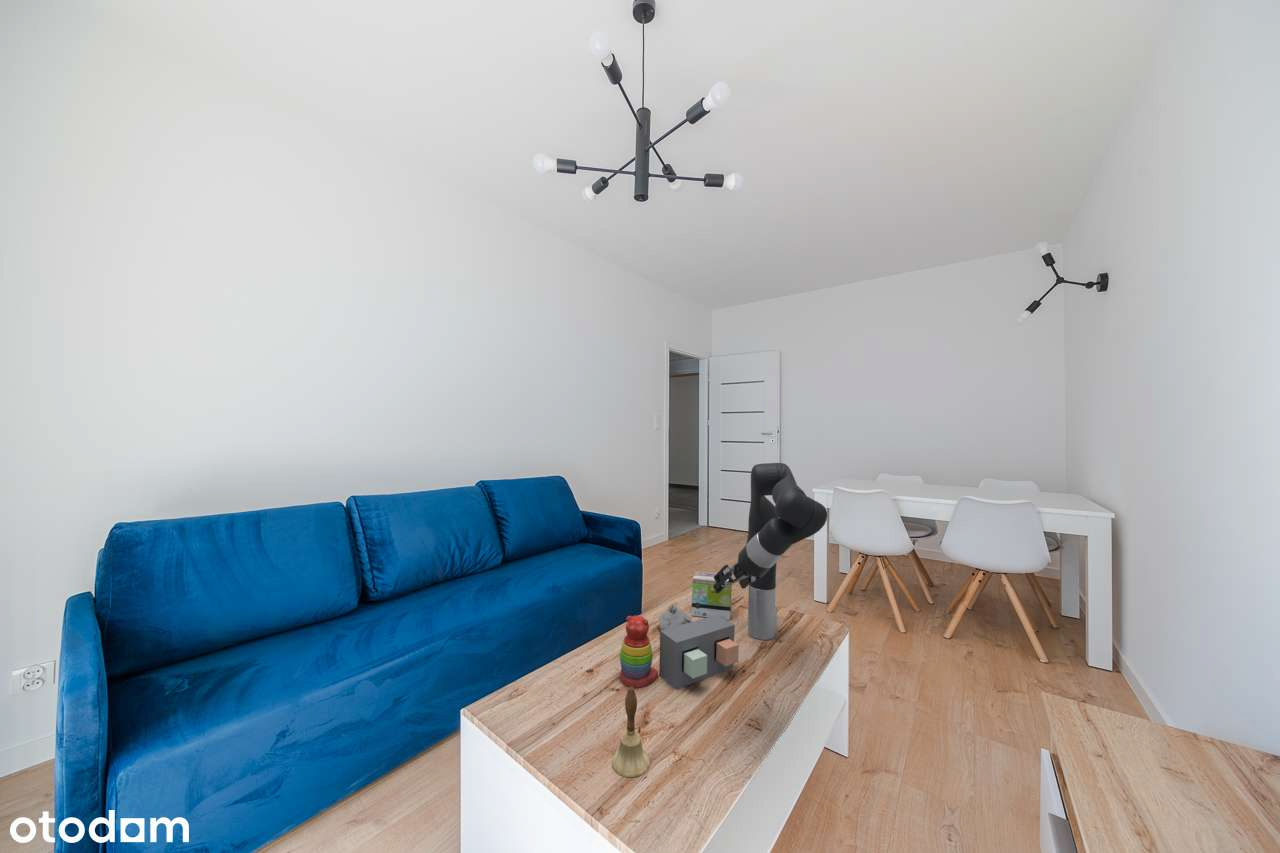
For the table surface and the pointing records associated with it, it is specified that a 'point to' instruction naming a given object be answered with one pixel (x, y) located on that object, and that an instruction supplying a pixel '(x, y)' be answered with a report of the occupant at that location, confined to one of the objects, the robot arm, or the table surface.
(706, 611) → the tea box
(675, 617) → the grey clay mound
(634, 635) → the stacking bear
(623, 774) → the hand bell
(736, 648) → the salmon button
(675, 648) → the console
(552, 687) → the table surface
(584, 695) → the table surface
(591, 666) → the table surface
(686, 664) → the sage button
